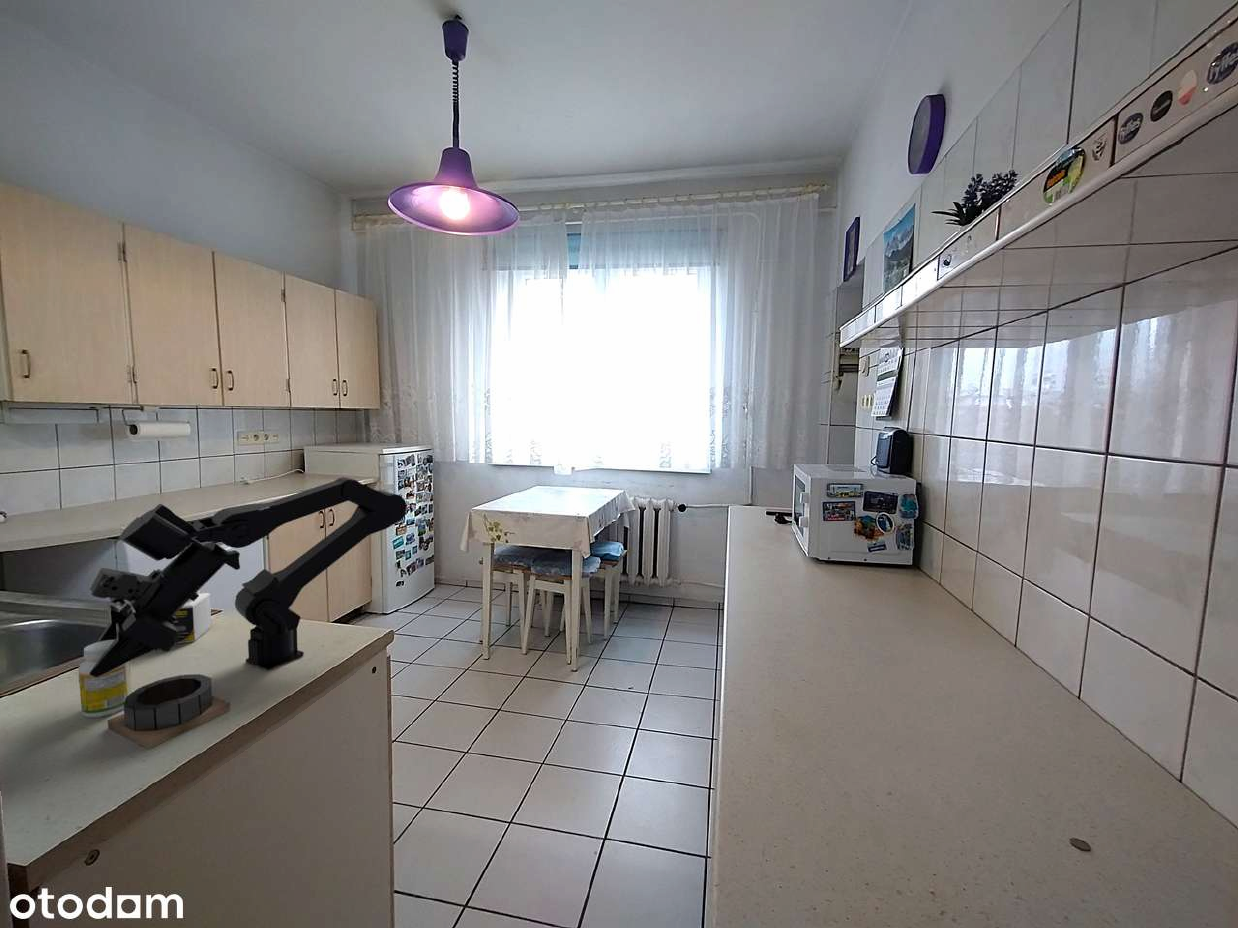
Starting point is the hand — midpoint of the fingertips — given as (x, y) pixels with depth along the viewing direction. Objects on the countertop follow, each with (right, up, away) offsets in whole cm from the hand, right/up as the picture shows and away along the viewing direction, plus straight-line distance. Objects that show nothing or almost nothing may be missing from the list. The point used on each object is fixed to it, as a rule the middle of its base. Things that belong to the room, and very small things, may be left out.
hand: (90, 668), depth 77 cm
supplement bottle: (+1, -7, +2) cm, 7 cm away
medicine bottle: (-8, -4, +26) cm, 27 cm away
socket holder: (+12, -7, 0) cm, 14 cm away
